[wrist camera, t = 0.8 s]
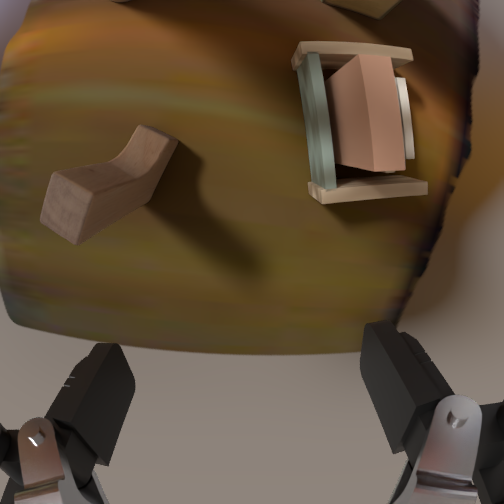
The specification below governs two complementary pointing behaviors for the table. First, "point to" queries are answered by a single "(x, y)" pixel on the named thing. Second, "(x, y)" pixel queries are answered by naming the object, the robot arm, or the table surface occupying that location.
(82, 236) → the wooden block
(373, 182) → the offcut rack
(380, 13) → the food packaging
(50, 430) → the robot arm
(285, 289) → the table surface
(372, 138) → the pink rectangular block
